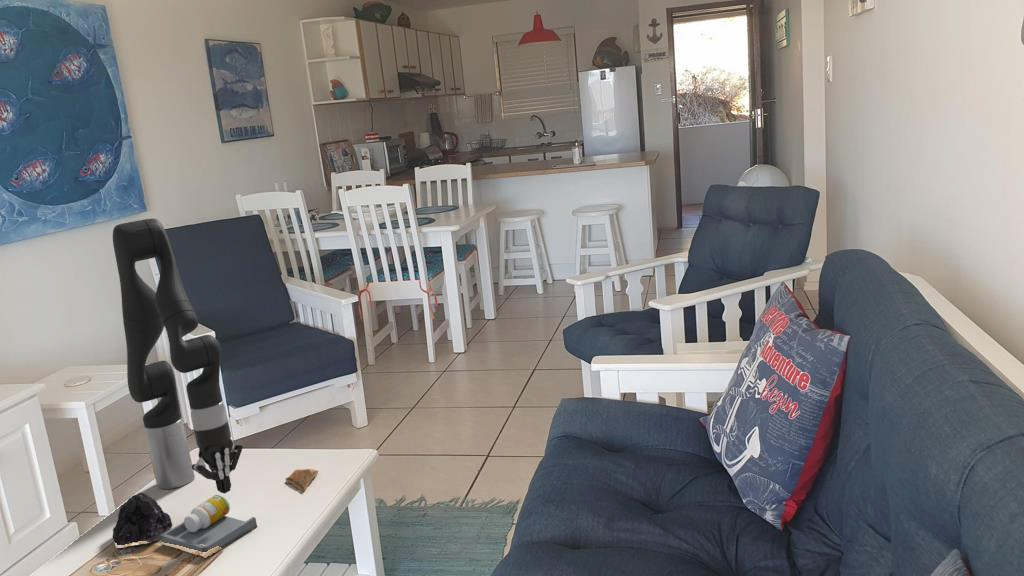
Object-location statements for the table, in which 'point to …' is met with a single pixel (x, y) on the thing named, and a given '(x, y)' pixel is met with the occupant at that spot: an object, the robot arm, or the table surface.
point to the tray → (209, 534)
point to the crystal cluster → (140, 521)
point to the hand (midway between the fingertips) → (225, 491)
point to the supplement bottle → (207, 513)
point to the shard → (302, 478)
